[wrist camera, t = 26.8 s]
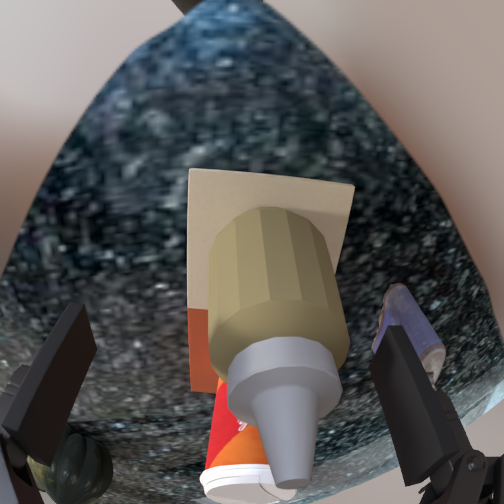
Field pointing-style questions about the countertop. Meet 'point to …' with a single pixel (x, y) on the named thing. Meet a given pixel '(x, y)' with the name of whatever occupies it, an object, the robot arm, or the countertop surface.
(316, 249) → the squeeze bottle
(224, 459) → the paper cup
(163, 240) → the countertop surface
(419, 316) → the flask
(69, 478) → the squash
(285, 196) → the board
